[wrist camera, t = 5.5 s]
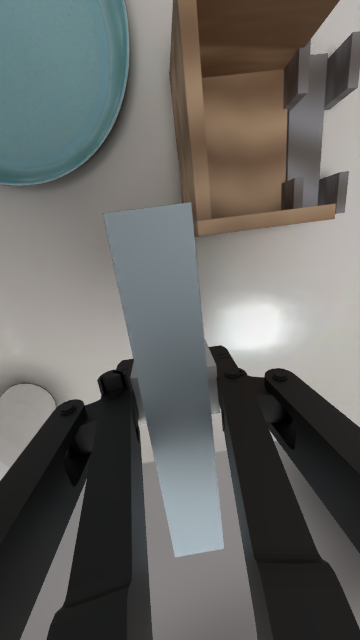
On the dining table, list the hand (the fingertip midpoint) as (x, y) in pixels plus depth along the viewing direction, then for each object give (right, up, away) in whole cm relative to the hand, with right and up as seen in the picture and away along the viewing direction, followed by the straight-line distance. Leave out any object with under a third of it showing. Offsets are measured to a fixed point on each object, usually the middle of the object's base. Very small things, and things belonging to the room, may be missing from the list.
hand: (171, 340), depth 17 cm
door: (0, 0, +1) cm, 1 cm away
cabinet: (+9, +21, +10) cm, 25 cm away
